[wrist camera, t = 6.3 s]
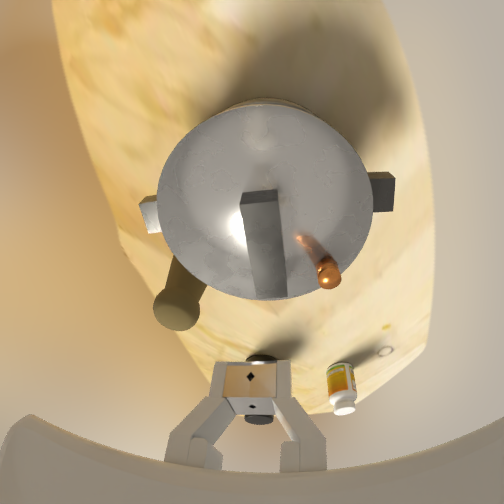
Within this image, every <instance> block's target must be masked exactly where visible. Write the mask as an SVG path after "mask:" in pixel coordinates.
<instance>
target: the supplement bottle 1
mask: <svg viewBox="0 0 504 504" xmlns="http://www.w3.org/2000/svg"><path fill="white" fill-rule="evenodd" d="M274 360H277V359H275V358H273V357H271V356H267V355H256V356H252V357H250V358H248V359H247V360H246V362H255V361H274ZM277 361H278V360H277ZM273 417H274V415H245V421H246V422H248V423H251V424H256V425H264V424H269V423H272V422H273Z"/></svg>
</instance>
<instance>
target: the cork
mask: <svg viewBox="0 0 504 504" xmlns="http://www.w3.org/2000/svg"><path fill="white" fill-rule="evenodd" d="M206 286H207V284H205V283H204V282H202V281H201V280H199V279H198V278H196V277H195V276H194V275H193V274H191V273H190V272H189V271H188V270H187V269H186V268H185V267H184V266H183V265H182V264H181V263H180V262H179V261H178V259H177V258H176V257H175V255H174V256H173V259H172V263H171V267H170V270H169V274H168V278H167V282H166V286H165V289H163V290H162V291H161V292H160V293H159V294H158V295H157V296H156V298H155V301H154V305H153V310H154V315H155V317H156V319H157V321H158V322H159V323H161V325H163V326H165V327H166V328H169V329H171V330H175V331H185V330H188V329H190V328H191V327H192V326H194V325H195V323H196V322H197V320H198V318H199V315H200V305H199V303H198V302H199V300H200V298H201V296H202V294H203V292H204V290H205V288H206Z"/></svg>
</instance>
